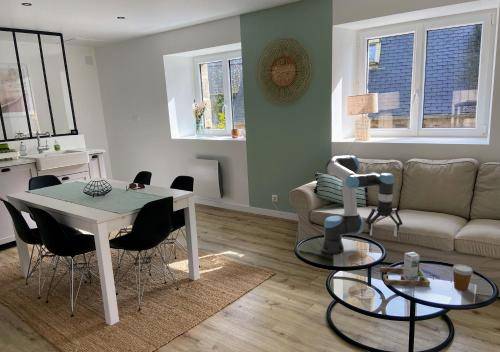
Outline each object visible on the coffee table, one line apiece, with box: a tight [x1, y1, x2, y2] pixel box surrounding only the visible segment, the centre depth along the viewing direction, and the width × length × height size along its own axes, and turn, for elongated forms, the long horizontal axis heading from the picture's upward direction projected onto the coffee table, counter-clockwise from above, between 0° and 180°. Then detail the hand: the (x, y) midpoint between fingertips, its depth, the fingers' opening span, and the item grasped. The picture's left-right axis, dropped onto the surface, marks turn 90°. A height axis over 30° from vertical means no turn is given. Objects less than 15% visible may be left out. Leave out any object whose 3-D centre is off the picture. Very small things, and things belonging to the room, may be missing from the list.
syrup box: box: [403, 251, 421, 280], centre depth 211 cm, size 6×6×14 cm
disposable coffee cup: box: [452, 263, 474, 292], centre depth 197 cm, size 10×10×12 cm
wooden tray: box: [379, 266, 431, 288], centre depth 210 cm, size 23×16×3 cm
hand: (382, 235), depth 214 cm, fingers open, 13 cm apart
